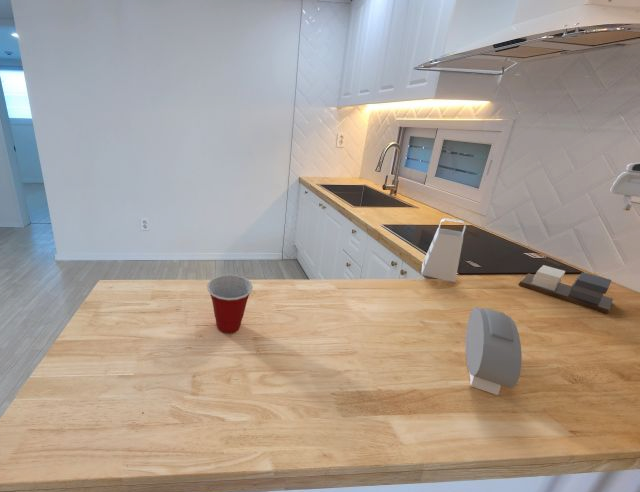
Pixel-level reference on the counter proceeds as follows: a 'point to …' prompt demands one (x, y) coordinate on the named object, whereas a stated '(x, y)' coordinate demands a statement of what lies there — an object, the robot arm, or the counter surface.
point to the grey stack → (589, 288)
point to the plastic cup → (229, 300)
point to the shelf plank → (566, 294)
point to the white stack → (545, 283)
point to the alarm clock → (492, 350)
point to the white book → (550, 273)
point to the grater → (444, 253)
